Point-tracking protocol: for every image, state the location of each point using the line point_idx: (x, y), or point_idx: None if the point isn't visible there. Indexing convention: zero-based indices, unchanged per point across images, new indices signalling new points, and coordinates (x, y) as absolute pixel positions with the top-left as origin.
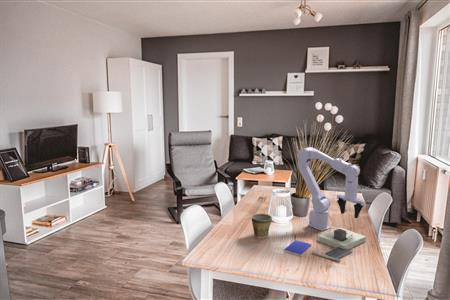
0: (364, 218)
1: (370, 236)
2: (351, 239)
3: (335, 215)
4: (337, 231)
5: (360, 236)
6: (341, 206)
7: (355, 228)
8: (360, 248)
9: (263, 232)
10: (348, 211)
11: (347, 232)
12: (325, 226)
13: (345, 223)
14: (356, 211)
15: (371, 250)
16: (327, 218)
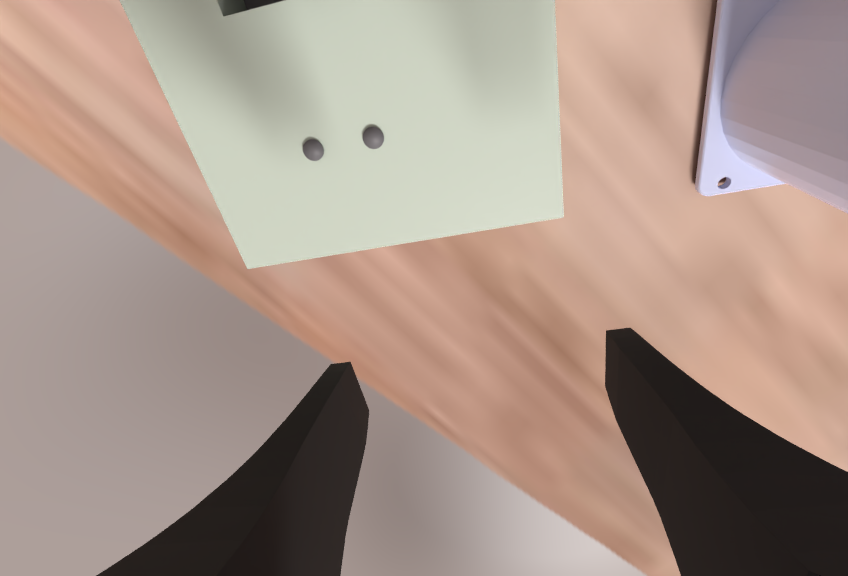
0: (619, 541)
1: (346, 356)
2: (198, 39)
3: (837, 449)
4: None
5: (260, 220)
6: (691, 443)
7: (529, 379)
8: (119, 58)
9: None
10: None
11: (404, 174)
12: (743, 84)
13: None
14: (248, 466)
15: (68, 132)
16: (816, 153)
